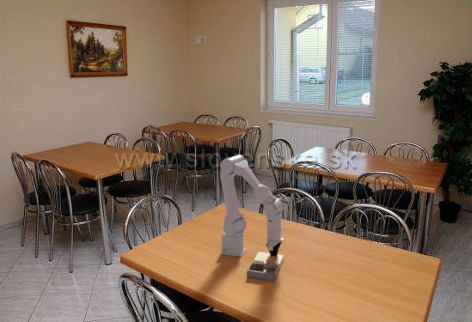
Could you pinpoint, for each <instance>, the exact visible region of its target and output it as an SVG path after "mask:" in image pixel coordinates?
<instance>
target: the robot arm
mask: <svg viewBox="0 0 472 322" xmlns="http://www.w3.org/2000/svg"><path fill="white" fill-rule="evenodd" d="M219 165H220V166H219V168H220V174H219V175H220V182H221V187H222V193H223V198H224V199H223V200H224V205H225V211H226V214H225V217H224V218H223V225H222V229H223V233H222V234H221V241H220V242H221V252H220V253H221V255H226V256H232V257H233V256H234V257H240V258H241V257H242V256H243V255H244V253H245V252H246V250H247V247H244V232H245V229H246V228H247V220H246V218H245V217H244V214H243V212H240V209H239V203H238V196H237V191H236V186H235V180H234V177H235V176H240V177H242V178H243V179H244V180H245V181H246V182H247V183H248V184H249V185H250V186H251V188H252V189H253V191H254V195H255V197H256V198H257V199H258V201H259V202H260V203H261V205H263V207H264V208H263V211H264V213H265V215H266V243H265V245H266V248H267V251H269V252H268V253H270V256H276V257H277V255H278V253H279V249H280V247H281V244H282V243H283V242H284V240H285V238H284V237H282V211H284V209H285V205H284V202H283V200H282V199H281V198H279V197H276V196H274V194H273V193H272V191H270V188H269V186H266V185H265V184H262V183H261V182H260V181H259V179H258V178H257V176H256V175H255V174H254V173H253V171H252V169H251V168H250V166H249V162H248V161H247V159H246V157H244V155H242V154H235V155H234V156H230V157H227V158H224V159H223V160H222V161H221V162H220V163H219Z"/></svg>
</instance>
